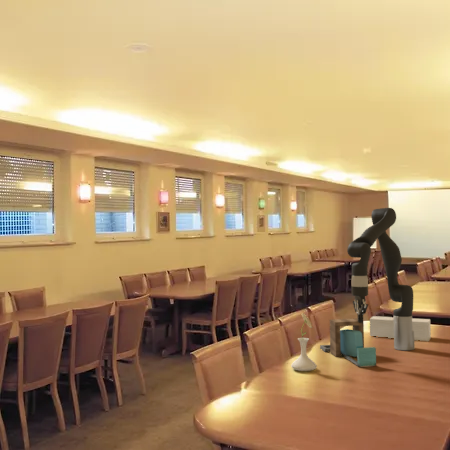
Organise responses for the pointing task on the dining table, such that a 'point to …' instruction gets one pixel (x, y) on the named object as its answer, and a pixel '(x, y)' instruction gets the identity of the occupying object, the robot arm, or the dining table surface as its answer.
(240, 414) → the dining table surface
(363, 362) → the frame
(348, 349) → the data package
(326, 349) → the tray
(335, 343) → the wooden arch
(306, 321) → the flower in vase
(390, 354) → the dining table surface
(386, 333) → the white long block
